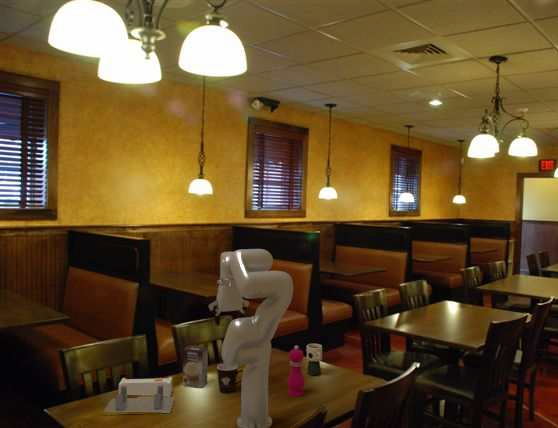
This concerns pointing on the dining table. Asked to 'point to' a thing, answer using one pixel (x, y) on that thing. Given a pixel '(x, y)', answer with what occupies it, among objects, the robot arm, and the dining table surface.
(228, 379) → the coffee mug
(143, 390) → the strip bar
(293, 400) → the dining table surface
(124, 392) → the slot rack
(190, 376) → the coffee box
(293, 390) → the pepper mill
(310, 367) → the character mug
